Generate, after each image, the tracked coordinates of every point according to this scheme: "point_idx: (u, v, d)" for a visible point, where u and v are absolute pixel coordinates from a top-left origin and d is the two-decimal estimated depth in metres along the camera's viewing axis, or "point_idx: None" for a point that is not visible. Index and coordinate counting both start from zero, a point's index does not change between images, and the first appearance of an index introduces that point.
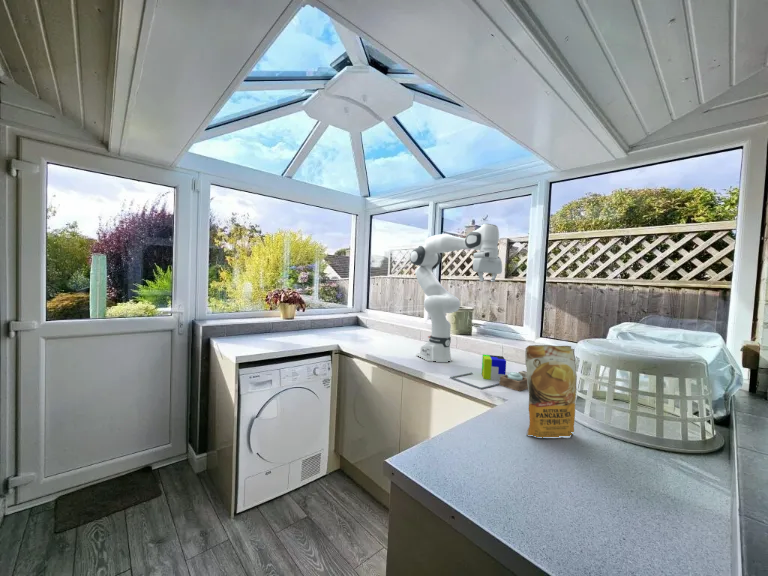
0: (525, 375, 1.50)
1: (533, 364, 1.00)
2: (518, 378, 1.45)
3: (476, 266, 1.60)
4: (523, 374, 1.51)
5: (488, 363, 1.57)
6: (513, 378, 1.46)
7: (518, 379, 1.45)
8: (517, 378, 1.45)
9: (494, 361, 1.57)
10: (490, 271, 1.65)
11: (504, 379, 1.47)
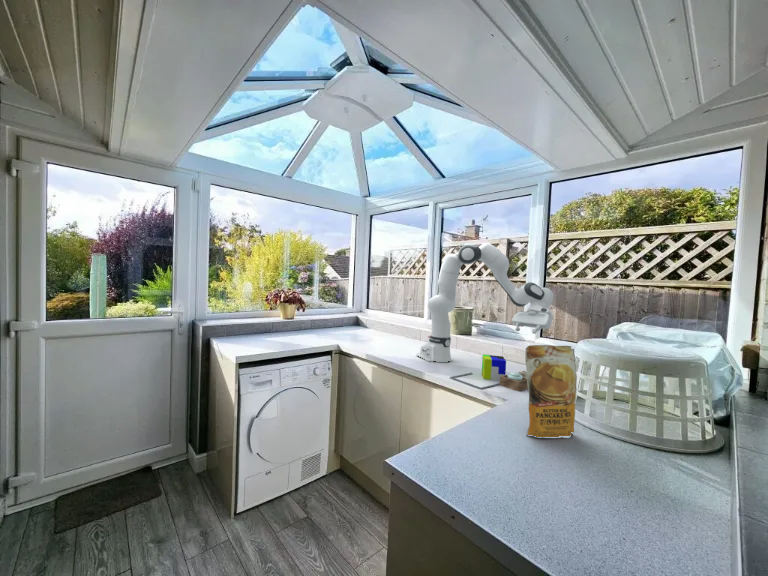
0: (525, 375, 1.50)
1: (533, 364, 1.00)
2: (518, 378, 1.45)
3: (549, 324, 1.64)
4: (523, 374, 1.51)
5: (488, 363, 1.57)
6: (513, 378, 1.46)
7: (518, 379, 1.45)
8: (517, 378, 1.45)
9: (494, 361, 1.57)
10: None
11: (504, 379, 1.47)
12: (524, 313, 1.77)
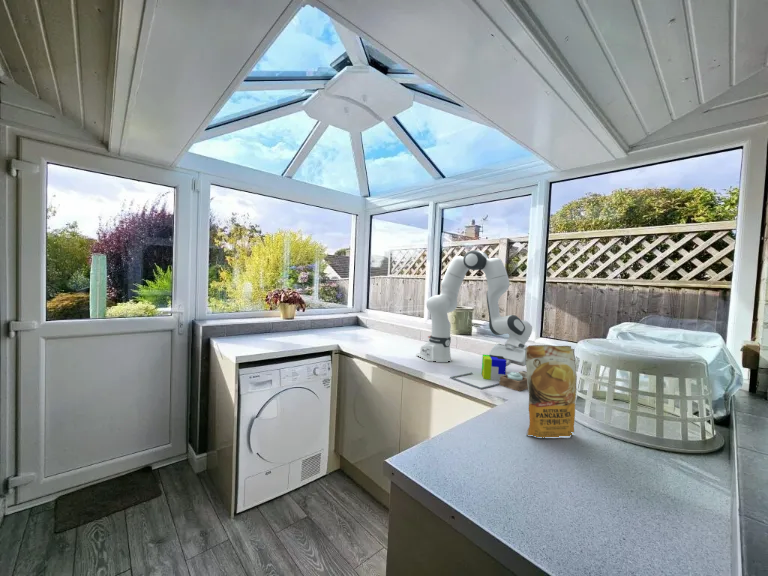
0: (525, 375, 1.50)
1: (533, 364, 1.00)
2: (518, 378, 1.45)
3: None
4: (523, 374, 1.51)
5: (488, 363, 1.57)
6: (513, 378, 1.46)
7: (518, 379, 1.45)
8: (517, 378, 1.45)
9: (494, 361, 1.57)
10: None
11: (504, 379, 1.47)
12: (502, 347, 1.72)
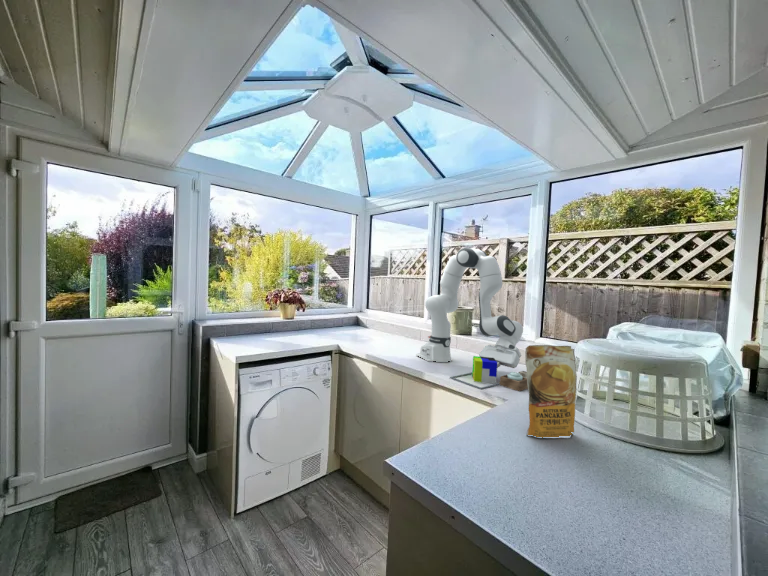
0: (525, 375, 1.50)
1: (533, 364, 1.00)
2: (518, 378, 1.45)
3: (516, 363, 1.55)
4: (523, 374, 1.51)
5: (479, 365, 1.52)
6: (513, 378, 1.46)
7: (518, 379, 1.45)
8: (517, 378, 1.45)
9: (485, 363, 1.52)
10: None
11: (504, 379, 1.47)
12: (492, 348, 1.67)
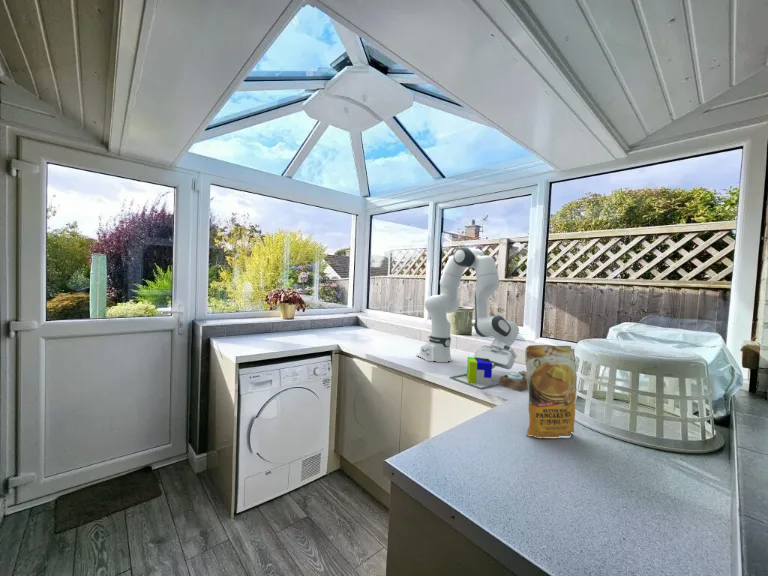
0: (525, 375, 1.50)
1: (533, 364, 1.00)
2: (518, 378, 1.45)
3: (511, 364, 1.52)
4: (523, 374, 1.51)
5: (473, 366, 1.50)
6: (513, 378, 1.46)
7: (518, 379, 1.45)
8: (517, 378, 1.45)
9: (480, 364, 1.49)
10: None
11: (504, 379, 1.47)
12: (487, 349, 1.65)
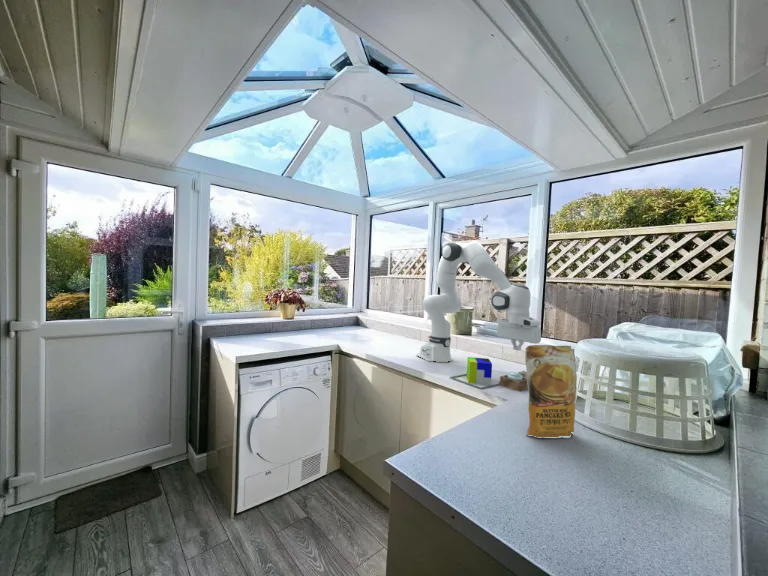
0: (525, 375, 1.50)
1: (533, 364, 1.00)
2: (518, 378, 1.45)
3: (539, 337, 1.40)
4: (523, 374, 1.51)
5: (473, 366, 1.50)
6: (513, 378, 1.46)
7: (518, 379, 1.45)
8: (517, 378, 1.45)
9: (480, 364, 1.49)
10: None
11: (504, 379, 1.47)
12: (507, 324, 1.50)
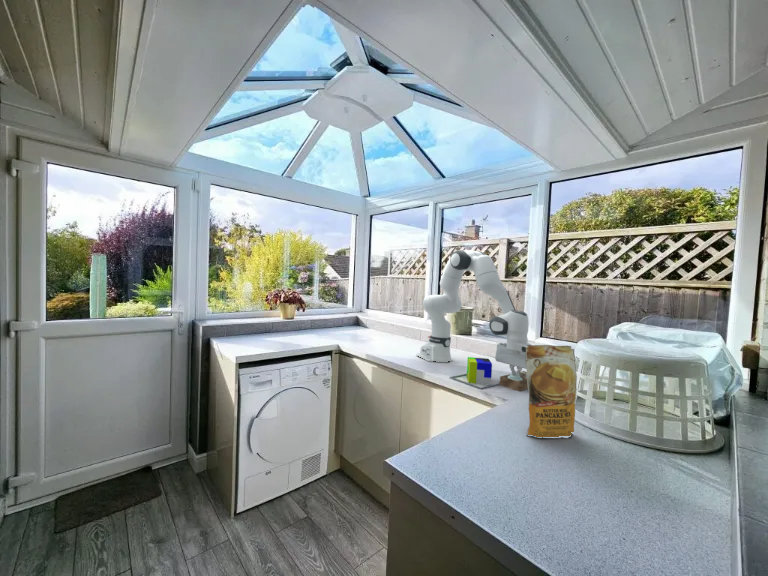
0: (525, 375, 1.50)
1: (533, 364, 1.00)
2: (518, 380, 1.45)
3: None
4: (523, 374, 1.51)
5: (473, 366, 1.50)
6: None
7: None
8: (517, 380, 1.45)
9: (480, 364, 1.49)
10: None
11: (504, 379, 1.47)
12: (505, 350, 1.51)
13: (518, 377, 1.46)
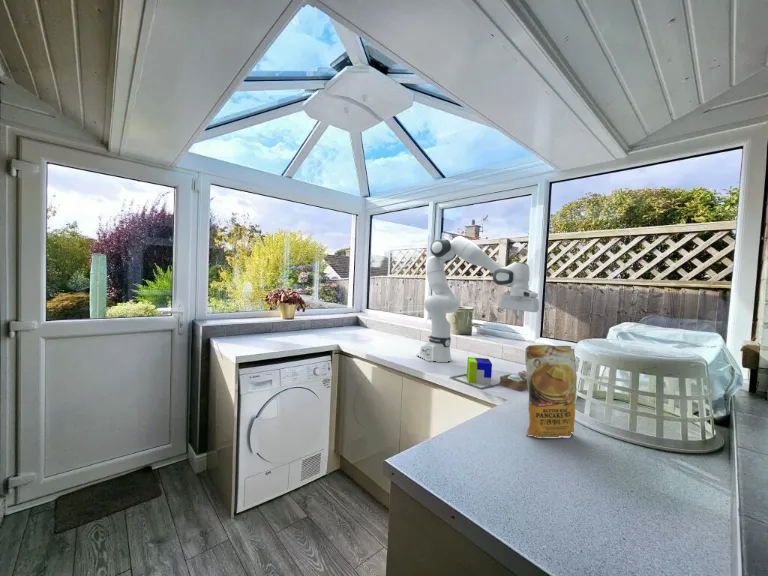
0: (525, 375, 1.50)
1: (533, 364, 1.00)
2: None
3: (537, 307, 1.61)
4: (523, 374, 1.51)
5: (473, 366, 1.50)
6: None
7: None
8: None
9: (480, 364, 1.49)
10: None
11: (504, 379, 1.47)
12: (509, 297, 1.71)
13: (518, 377, 1.46)
